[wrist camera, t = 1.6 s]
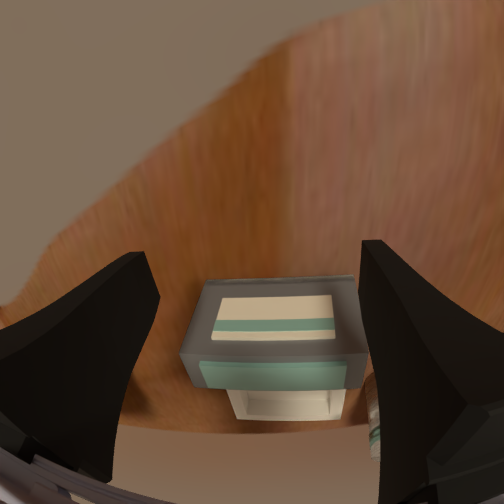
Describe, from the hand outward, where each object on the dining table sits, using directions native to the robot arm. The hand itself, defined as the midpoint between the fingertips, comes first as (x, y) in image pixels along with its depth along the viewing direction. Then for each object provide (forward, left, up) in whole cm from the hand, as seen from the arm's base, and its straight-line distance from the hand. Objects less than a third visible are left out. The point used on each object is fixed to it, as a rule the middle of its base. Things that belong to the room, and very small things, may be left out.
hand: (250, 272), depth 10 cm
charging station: (0, +12, -7) cm, 14 cm away
